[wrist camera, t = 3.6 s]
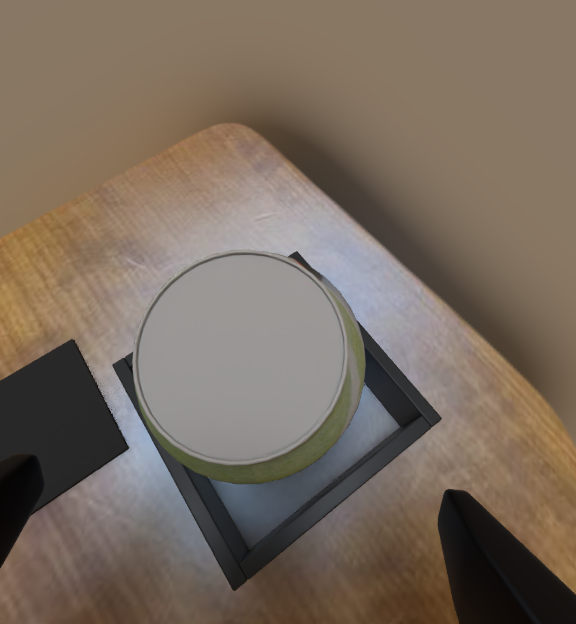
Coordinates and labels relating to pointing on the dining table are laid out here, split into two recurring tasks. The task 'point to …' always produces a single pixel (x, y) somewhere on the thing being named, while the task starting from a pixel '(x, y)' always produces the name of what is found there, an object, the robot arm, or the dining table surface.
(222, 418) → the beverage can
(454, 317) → the dining table surface
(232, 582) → the square frame
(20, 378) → the coaster
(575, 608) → the robot arm
